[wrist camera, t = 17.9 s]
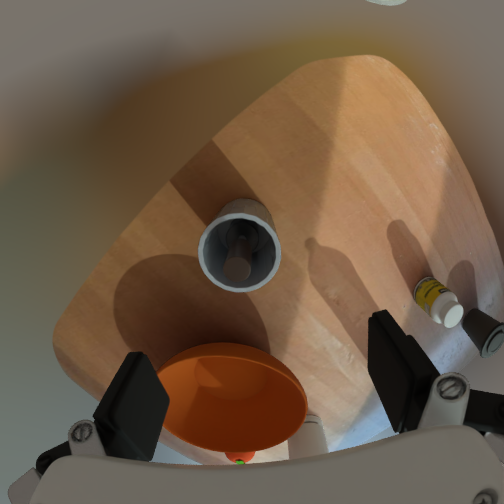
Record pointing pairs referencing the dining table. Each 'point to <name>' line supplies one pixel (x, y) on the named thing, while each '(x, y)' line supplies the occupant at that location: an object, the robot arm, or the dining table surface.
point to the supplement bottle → (438, 302)
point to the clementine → (240, 457)
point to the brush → (240, 248)
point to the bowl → (231, 398)
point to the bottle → (308, 439)
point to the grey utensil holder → (216, 248)
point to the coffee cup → (484, 332)
